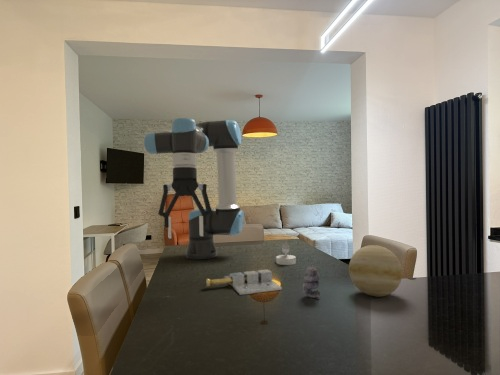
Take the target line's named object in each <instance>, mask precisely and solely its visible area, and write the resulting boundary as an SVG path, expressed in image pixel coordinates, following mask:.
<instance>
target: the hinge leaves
mask: <svg viewBox="0 0 500 375" xmlns="http://www.w3.org/2000/svg"><path fill="white" fill-rule="evenodd" d="M223 276H224V277H223V278H232V283H228V284H229V285H230V286H231V288H233V290H235V291H236V292H237V293H238V294H239V296H242V295H244V296H245V295H250V294H259V293H266V292H272V291H273V292H274V291H281V290H282V286H281V285H279V284H277V283H276V282H275V281H273V272H272V271H271V270H270V269H260V270H250V271H247V270H246V271H243V272H241V271H240V272H238V271H237V272H231V273H229V275H223ZM244 276H247V281H246V282H244Z"/></svg>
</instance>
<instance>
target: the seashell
mask: <svg viewBox="0 0 500 375" xmlns="http://www.w3.org/2000/svg"><path fill="white" fill-rule="evenodd" d="M319 272H320V271H318V269H317V268H316V267H315V266H314V265H313V264H310V265H309V266H305V270H304V273H305V274H304V275H303V280H304V282H303V283H302V292H303V293H304V294H305V296H307V297H309V298H318V297H321V292H320V290H319V289H317V288H318V287H319V285H320V281H319V280H320V279H321V278H320V273H319ZM315 289H316V290H315Z"/></svg>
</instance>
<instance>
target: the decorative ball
mask: <svg viewBox="0 0 500 375" xmlns="http://www.w3.org/2000/svg"><path fill="white" fill-rule="evenodd" d="M348 272H349V277H350V279H351V281H352V283H353V285H354V286H355V287H356V289H358V290H359V291H360V292H362V293H363V294H365V295H368V296H370V297H371V296H372V297H386V296H388V295H391V294H392V293H393V292H395V291H396V290H397V289H398V288H399V287H400V284H401V282H402V278H403V268H402V264H401V262H400V259H399V258H398V256H396V254H395V253H394V252H392V250H390V249H388V248H387V247H384V246H381V245H376V244H370V245H366V246H363V247H360V248H359V249H357V251H355V252H354V253H353V254H352V256H351V258H350V261H349V264H348Z"/></svg>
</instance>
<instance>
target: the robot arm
mask: <svg viewBox="0 0 500 375" xmlns="http://www.w3.org/2000/svg"><path fill="white" fill-rule="evenodd" d="M171 126H172V127H171V130H167V131H162V132H161V131H160V132H150V133H147V134H146V135H145V136H144V139H143V140H144V141H143V144H144V148H145V151H146V152H147V153H148V154H151V155H153V154H155V155H158V154H172V166H173V168H172V182H171V184H170V183H169V184H166V183H165V184H163V185H162V189H163V192H162V196H161V200H160V205H159V209H158V215H159V216H160V217H163V218H164V220H163V222H164V228H165V229H166V228H167V237H168V239H172V217H171V216H170V215H171V212H172V210H173V208H174V207H175V204H176V203H177V201H178V199H179V198H180V197H185V196H186V197H191V198H192V200H193V201H194V203H195V206H196V207H197V209H194V210H191V211H190V212H188V220H187V221H188V244H187V247H186V250H185V258H186V259H188V260H207V259H209V260H210V259H213V258H216V257H217V256H218V250H217V247H216V244H215V240H214V236H238V235H240V234H241V233H242V230H243V227H244V222H245V221H244V220H245V213H244V211H243V210H241V206H240V205H239V204H238V203H237V177H236V176H237V174H236V170H237V169H236V152H237V151H238V150H239V146H241V145H242V132H241V129H240V125H239V124H238V122H237V121H236V120H232V119H230V120H228V119H226V120H225V119H224V120H216V121H213V120H211V121H201V122H198V123H196V121H195V119H193V118H188V117H177V118H175V119H173V121H172V125H171ZM209 147H213V150H212V151H213V152H215V153H216V167H217V168H216V170H217V194H218V195H217V196H218V204H217V205H216V207H215V210H214V208H213V207H211V203H210V200H209V197H208V196H209V195H208V192H207V186H208V185H207V184H206V183H199V182H198V175H197V173H198V172H197V167H196V166H197V154H203V153H205V152H206V151H207V150H208V148H209ZM171 189H172V190H173V191H174V192H175V193H174V194H173V197H172V199H171V201H170V203H169V204H168V207H167V209H166V210H165V206H166V202H167V198H168V194H169V191H170V190H171ZM197 189H199V191H200V192H201V196H202V199H203V203H204V206H203V204H202V203H201V201H200V200H199V198H198V195H197V194H196V190H197ZM204 207H205V208H204ZM164 210H165V212H164Z"/></svg>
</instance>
